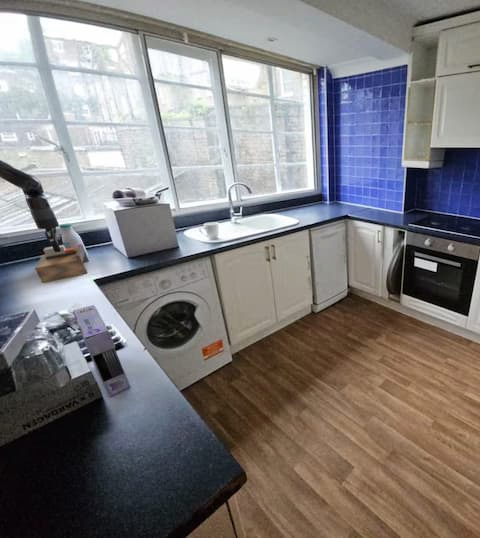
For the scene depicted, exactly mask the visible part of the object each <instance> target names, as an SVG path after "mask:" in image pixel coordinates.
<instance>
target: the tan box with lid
mask: <svg viewBox="0 0 480 538" xmlns="http://www.w3.org/2000/svg"><path fill="white" fill-rule="evenodd" d="M75 250H76V251H77V252H76V254H73V255H67V256H62V257H56V258H51V259H46V258H45V257H46V254H45V253H44V254H42V255H41V257H40V259H39V260H38V262H37V264H36V265H35V268H34V269H35V271H36V273H37V275H38V277H39V279H40V282H41V283H43V284H44V283H48V282H54V281H58V280H63V279H67V278H72V277H76V275H77V276H81V275H80V274H82V275H85V273H86V274H88V273H87V272H88V270H87V268H86V265H85V264H84V263H86V262H89V261H90V259H89V257H87V254H86V252H85V250H84V247H83V245H82V244H80V245H78V249H75ZM71 276H72V277H71Z"/></svg>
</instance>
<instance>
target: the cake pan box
mask: <svg viewBox="0 0 480 538" xmlns="http://www.w3.org/2000/svg"><path fill="white" fill-rule="evenodd" d="M72 314H73V317H74V319H75V321H76V322H75V323H76V324H77V326H78V329H79V332H80V334H81V337H82V340H83V342H84V344H85V347H86V349H87V351H88V353H89V356H90V358H91V360H92V363H93V365H94V367H95V370H96V372H97V374H98V376H99V379H100V380H101V383H102V384H103V386H104V388H105V390H106V393H107V394H108V396H109V397H110V398H112V397H114V396H115V395H118V394H119V393H121V392H123V391H125V390H127V389H130V388H131V384H130V382H129V379H128V377H127V375H126V372H125V370H124V368H123V366H122V363H121V361H120V358H119V356H118V353H117V350H116V345H115V342H114V340H113V338H112V335H111V334H110V331H109V329H108V327H107V325H106V323H105V321H104V320H103V318H102V316H101V315H100V312H99V311H98V309H97V307H96V306H95V304H92V305H87V306H84V307H80V308H76V309H73V311H72Z"/></svg>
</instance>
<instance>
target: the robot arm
mask: <svg viewBox="0 0 480 538" xmlns="http://www.w3.org/2000/svg"><path fill="white" fill-rule="evenodd" d="M0 179H2V180H4V181H6V182H8V183H10V184H11V185H13V186H15V187H17V188H20V189H21V191H22V193H23V194H24V197H25V202H26V205H27V206H28V207H27V208H28V209H29V211H30V214H31V217H32V219H33V221H34V224H35V226H36V228H37V230H38V229H39V230H45V232H44V235H45V237H46V240H47V241H48V244H49V245H50V246H51V247H53V249H54V251H55V252H60V251H61V249H60V247H59V245H63V243H62V242H61V241H62V240H61V236H60V234H59V231H58V229H57V228H58V227H60V224H59V221H58V219H57V217H56V214H55V212H54V211H53V208H52V207H51V205H50V203H49V200H48V199H47V196H46V193H45V191H44V189H43V185H42V182H41V181H40V179H39V178H38V177H37V176H35V175H33V174H31V173H26V172H24V171H22V170H20V169H17V168H15V167H14V166H13V165H12V164H9V163H8V162H6V161H4V160H1V159H0Z"/></svg>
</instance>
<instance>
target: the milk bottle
mask: <svg viewBox="0 0 480 538" xmlns="http://www.w3.org/2000/svg"><path fill="white" fill-rule="evenodd" d="M59 228H60V230H61V232H62V234H61V241H62V245H64V246H65V248H66V249H69V248H75V249H78V245H80V244H82V245H83V247H84V250H85V252H86V254H87V257H88V258H89V257H90V256H89V253H88V250H87V249H86V246H85V244H84V242H83V240H82V237H81V236H80V235H79V233H77V232H76V231H75V230H74V229H73V225H72V224H71V223H69V222H67V223H62V224H59Z"/></svg>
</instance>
